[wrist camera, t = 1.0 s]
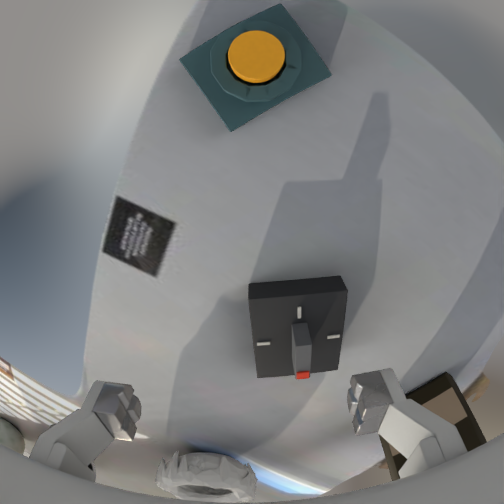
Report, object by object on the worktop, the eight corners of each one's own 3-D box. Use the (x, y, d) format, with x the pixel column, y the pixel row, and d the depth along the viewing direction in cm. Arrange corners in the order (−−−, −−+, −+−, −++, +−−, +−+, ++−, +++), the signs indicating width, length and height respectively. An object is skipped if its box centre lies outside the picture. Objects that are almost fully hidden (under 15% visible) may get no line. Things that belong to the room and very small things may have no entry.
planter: (7, 431, 60) (-7, 461, 47) (-17, 403, 53) (-35, 434, 39) (39, 447, 61) (25, 480, 47) (14, 419, 53) (-4, 456, 40)
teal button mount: (278, 11, 20) (282, -5, 16) (326, 78, 23) (338, 72, 19) (184, 63, 22) (173, 55, 18) (232, 131, 25) (228, 133, 21)
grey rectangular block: (291, 323, 30) (295, 348, 27) (306, 322, 30) (312, 346, 27) (291, 356, 32) (295, 380, 29) (305, 355, 32) (310, 379, 29)
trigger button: (264, 29, 18) (265, 21, 16) (292, 67, 19) (296, 63, 18) (220, 53, 19) (217, 47, 17) (247, 92, 20) (247, 89, 18)
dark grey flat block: (248, 283, 32) (248, 300, 29) (340, 275, 31) (348, 291, 28) (257, 361, 37) (257, 379, 34) (332, 353, 36) (337, 370, 34)
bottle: (451, 387, 43) (498, 487, 20) (379, 425, 46) (409, 533, 24) (449, 367, 40) (506, 479, 17) (369, 410, 43) (403, 533, 21)
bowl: (235, 432, 45) (234, 480, 36) (270, 468, 53) (271, 505, 44) (141, 438, 48) (132, 478, 39) (189, 475, 56) (185, 508, 47)
